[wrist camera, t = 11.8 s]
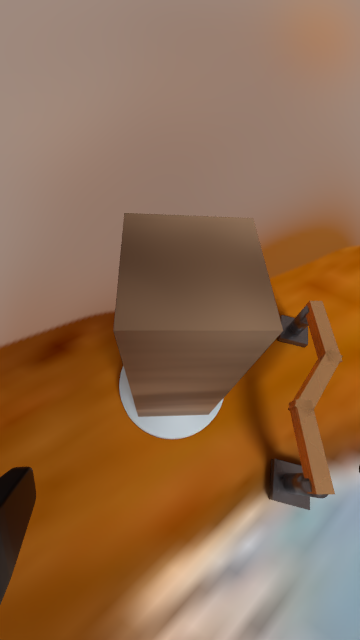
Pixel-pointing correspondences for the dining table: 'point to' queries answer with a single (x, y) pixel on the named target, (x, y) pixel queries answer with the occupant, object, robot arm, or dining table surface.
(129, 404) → the pad
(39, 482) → the dining table surface
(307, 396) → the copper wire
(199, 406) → the taupe upright block
